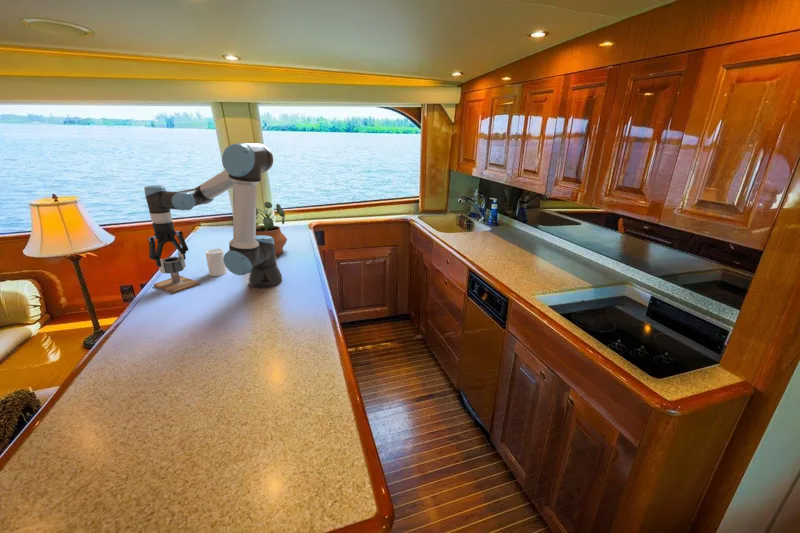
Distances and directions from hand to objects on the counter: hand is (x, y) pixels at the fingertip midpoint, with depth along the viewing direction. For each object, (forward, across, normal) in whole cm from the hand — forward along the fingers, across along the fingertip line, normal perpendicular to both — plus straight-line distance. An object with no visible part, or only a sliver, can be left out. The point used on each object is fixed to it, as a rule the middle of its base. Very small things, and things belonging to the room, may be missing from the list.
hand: (173, 269), depth 155 cm
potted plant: (+8, -54, -3) cm, 55 cm away
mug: (+8, -18, +3) cm, 20 cm away
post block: (+8, 0, 0) cm, 8 cm away
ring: (0, 0, 0) cm, 0 cm away
